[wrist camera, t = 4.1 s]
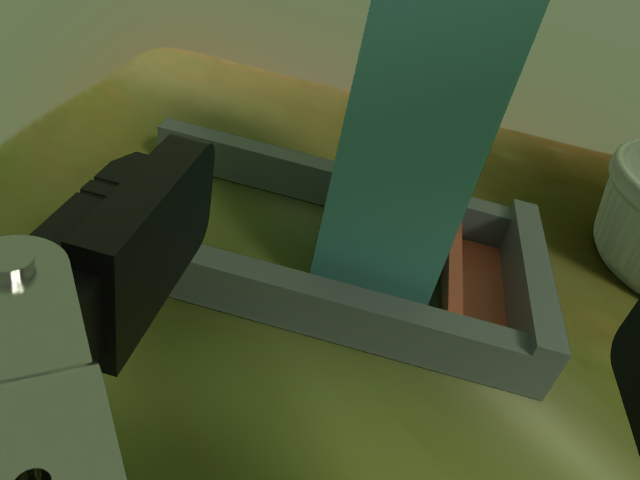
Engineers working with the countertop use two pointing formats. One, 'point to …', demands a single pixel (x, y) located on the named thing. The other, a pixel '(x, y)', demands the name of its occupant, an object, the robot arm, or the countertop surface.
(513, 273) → the grey rectangular frame
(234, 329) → the countertop surface
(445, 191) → the teal block
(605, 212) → the ramekin
